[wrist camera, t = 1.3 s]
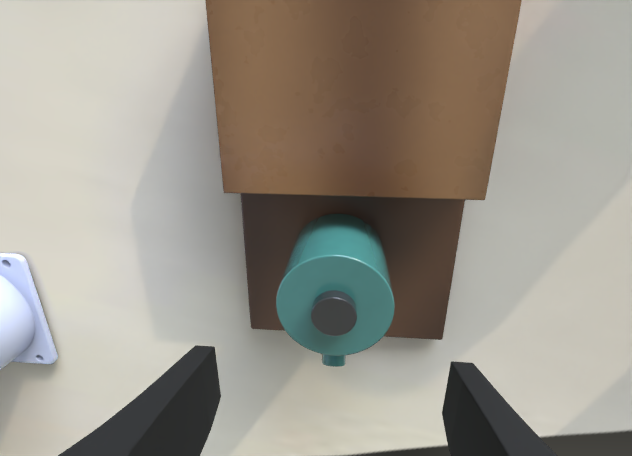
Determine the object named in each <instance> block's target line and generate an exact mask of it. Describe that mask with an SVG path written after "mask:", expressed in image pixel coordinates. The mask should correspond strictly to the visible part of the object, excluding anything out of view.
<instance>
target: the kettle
mask: <svg viewBox="0 0 632 456" xmlns="http://www.w3.org/2000/svg"><path fill="white" fill-rule="evenodd" d="M276 309H277V314H278V317H279V320H280V322H281V324H282V326H283V328H284V329H285V331H286V332H287V333H288V334H289V336H290V337H292V338H293V339H294V340H295V341H296V342H297V343H299V344H300V345H302V346H303V347H305V348H307V349H309V350H312V351H314V352H317V353H321V354H322V363H323V364H324V365H327V366H344V365H345V358H346V355H349V354H354V353H358V352H361V351H363V350H365V349H368V348H369V347H371V346H373V345H374V344H375V343H377V342H378V341H379V340H380V339H381V338H382V337H383V336H384V335H385V333H386V332H387V331H388V329H389V327H390V325H391V323H392V320H393V316H394V310H395V303H394V297H393V292H392V287H391V282H390V277H389V272H388V267H387V262H386V257H385V252H384V247H383V244H382V241H381V239H380V237H379V235H378V234H377V232H376V231H375V230H374V229H373V228H372V227H371V226H370V225H369V224H368V223H366V222H365V221H363V220H361V219H359V218H357V217H354V216H351V215H347V214H329V215H324V216H321V217H319V218H316V219H314V220H313V221H311V222H309V223H308V224H307V225H306V226H305V227H304V228H303V229H302V230H301V231H300V233H299V234H298V236H297V238H296V240H295V243H294V246H293V248H292V251H291V254H290V257H289V260H288V263H287V266H286V268H285V271H284V274H283V277H282V280H281V283H280V286H279V289H278V291H277V296H276Z"/></svg>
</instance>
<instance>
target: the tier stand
mask: <svg viewBox="0 0 632 456" xmlns="http://www.w3.org/2000/svg"><path fill="white" fill-rule="evenodd" d="M520 6H521V0H206V10H207V21H208V31H209V42H210V52H211V63H212V73H213V84H214V94H215V105H216V115H217V126H218V136H219V147H220V157H221V168H222V178H223V189H224V193H241V203H242V216H243V229H244V242H245V255H246V268H247V280H248V293H249V306H250V319H251V328H252V329H267V330H284V331H285V329H284V328H283V326H282V324H281V322H280V320H279V317H278V314H277V309H276V296H277V291H278V289H279V286H280V283H281V280H282V277H283V274H284V271H285V268H286V266H287V263H288V260H289V257H290V254H291V251H292V248H293V246H294V243H295V240H296V238H297V236H298V234H299V233H300V231H301V230H302V229H303V228H304V227H305V226H306V225H307V224H308V223H309V222H311V221H313V220H314V219H316V218H319V217H321V216H324V215H329V214H347V215H351V216H354V217H357V218H359V219H361V220H363V221H365V222H366V223H368V224H369V225H370V226H371V227H372V228H373V229H374V230H375V231H376V232H377V234H378V235H379V237H380V239H381V241H382V244H383V247H384V252H385V257H386V262H387V267H388V272H389V277H390V282H391V287H392V292H393V297H394V303H395V310H394V316H393V320H392V323H391V325H390V327H389V329H388V331H387V332H386V333H385V335H384V336H387V337H404V338H421V339H438V340H441V339H442V337H443V331H444V325H445V319H446V312H447V306H448V300H449V294H450V288H451V282H452V275H453V269H454V263H455V257H456V251H457V245H458V238H459V232H460V226H461V220H462V214H463V208H464V201H465V200H485V196H486V191H487V186H488V180H489V175H490V169H491V164H492V158H493V153H494V147H495V142H496V137H497V131H498V126H499V120H500V115H501V109H502V104H503V98H504V93H505V88H506V82H507V77H508V71H509V66H510V60H511V55H512V49H513V44H514V39H515V33H516V28H517V22H518V17H519V11H520Z"/></svg>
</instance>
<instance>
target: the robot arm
mask: <svg viewBox="0 0 632 456" xmlns="http://www.w3.org/2000/svg"><path fill="white" fill-rule="evenodd" d="M9 262H10V263H9ZM57 359H58V355H57V352H56V348H55V345H54V342H53V339H52V336H51V333H50V330H49V327H48V324H47V321H46V318H45V315H44V312H43V309H42V306H41V303H40V300H39V297H38V294H37V291H36V288H35V285H34V282H33V278H32V275H31V272H30V269H29V266H28V263H27V261H26V259H25V258H24V257H23V256H21V255H19V254H6V253H0V370H1V369H2V368H3V367H5V366H6V365H7V364H8V363H10V362H25V363H40V364H53V363H54V362H55V361H56V360H57ZM220 397H221V394H220V386H219V378H218V371H217V363H216V355H215V347H211V346H195V347H193V348H192V349H191V350H190V351H189V352H188V353H187V354H185V355H184V356H183V357H182V358H181V359H180V360H179V361H178V362H176V363H175V364H174V365H173V366H172V367H171V368H170V369H169V370H168V371H166V372H165V373H164V374H163V375H162V376H161V377H160V378H159V379H157V380H156V381H155V382H154V383H153V384H152V385H150V386H149V387H148V388H147V389H146V390H145V391H144V392H142V393H141V394H140V395H139V396H138V397H137V398H135V399H134V400H133V401H132V402H130V403H129V404H128V405H127V406H125V407H124V408H123V409H122V410H120V411H119V412H118V413H117V414H115V415H114V416H113V417H112V418H110V419H109V420H108V421H107V422H105V423H104V424H103V425H101V426H100V427H98V428H97V429H96V430H94V431H93V432H92V433H90V434H89V435H87V436H86V437H85V438H83V439H82V440H80V441H79V442H77V443H76V444H74V445H73V446H72V447H70V448H69V449H67V450H66V451H64V452H63V453H61V454H60V455H58V456H200V454H201V452H202V449H203V447H204V445H205V442H206V440H207V438H208V435H209V433H210V430H211V427H212V424H213V421H214V418H215V415H216V411H217V408H218V404H219V401H220ZM442 415H443V420H444V426H445V431H446V437H447V442H448V447H449V451H450V454H451V456H557V455H556V454H555V453H554V452H553V451H552V450H551V449H550V448H549V447H548V446H547V445H546V444H545V443H544V442H543V441H542V440H541V439H540V438H539V437H538V435H537V434H536V433H535V432H534V431H533V430H532V429H531V428H530V427H529V426H528V425H527V424H526V423H525V422H524V421H523V419H522V418H521V417H520V416H519V415H518V414H517V413H516V412H515V411H514V410H513V409H512V407H511V406H510V405H509V404H508V403H507V402H506V401H505V400H504V398H503V397H502V396H501V395H500V394H499V393H498V392H497V390H496V389H495V388H494V387H493V386H492V385H491V383H490V382H489V381H488V380H487V379H486V378H485V377H484V375H483V374H482V373H481V372H480V371H479V370H478V368H477V367H476V366H475V365H474V364H473V363H466V362H451V366H450V372H449V377H448V383H447V389H446V394H445V400H444V405H443V411H442Z"/></svg>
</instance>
